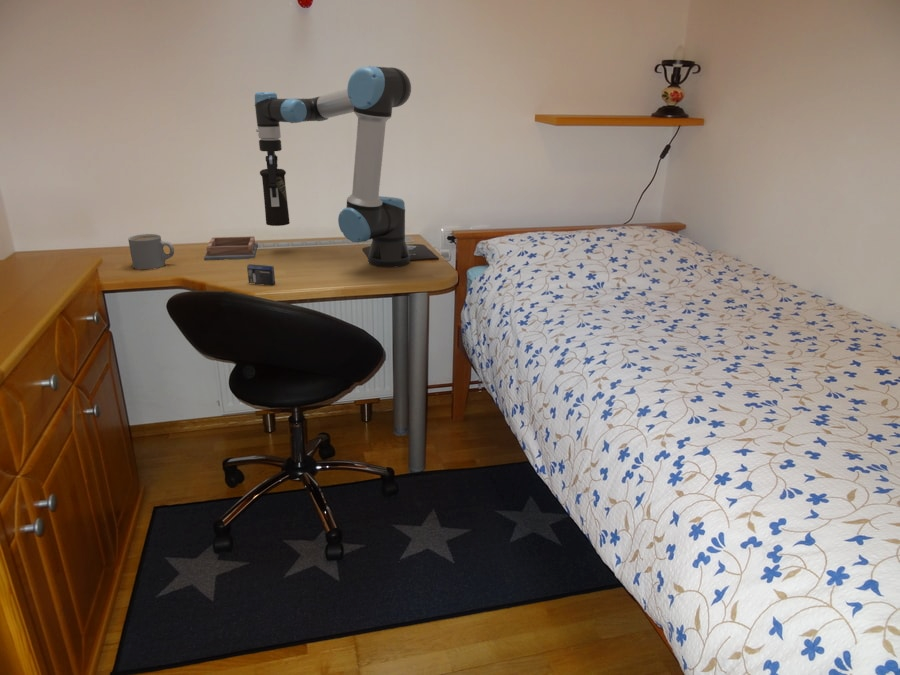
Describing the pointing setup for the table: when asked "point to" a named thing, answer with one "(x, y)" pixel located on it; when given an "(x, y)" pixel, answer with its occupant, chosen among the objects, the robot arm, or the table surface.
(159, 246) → the coffee mug
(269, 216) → the container
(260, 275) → the mini dv tape
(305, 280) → the table surface
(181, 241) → the table surface
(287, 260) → the table surface
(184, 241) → the table surface
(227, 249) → the collar plate
